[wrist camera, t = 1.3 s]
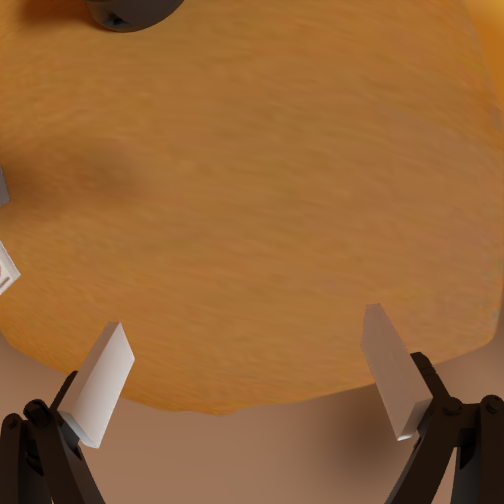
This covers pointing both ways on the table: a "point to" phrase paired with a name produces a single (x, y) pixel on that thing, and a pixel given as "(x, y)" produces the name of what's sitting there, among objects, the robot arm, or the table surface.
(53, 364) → the table surface
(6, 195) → the perfume bottle
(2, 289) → the tray
